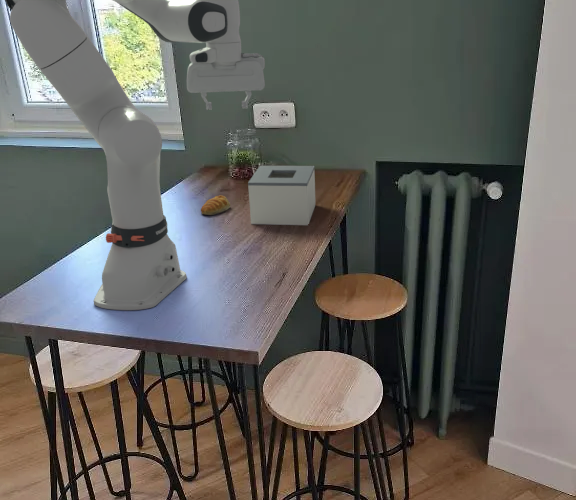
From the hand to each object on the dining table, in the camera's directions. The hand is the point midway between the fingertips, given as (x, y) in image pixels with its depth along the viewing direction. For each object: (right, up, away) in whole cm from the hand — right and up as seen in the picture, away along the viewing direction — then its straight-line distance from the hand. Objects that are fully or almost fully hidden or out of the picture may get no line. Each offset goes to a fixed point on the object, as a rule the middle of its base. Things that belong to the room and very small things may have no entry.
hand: (227, 108), depth 159 cm
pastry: (-5, -26, +20) cm, 33 cm away
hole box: (+15, -27, +14) cm, 34 cm away
